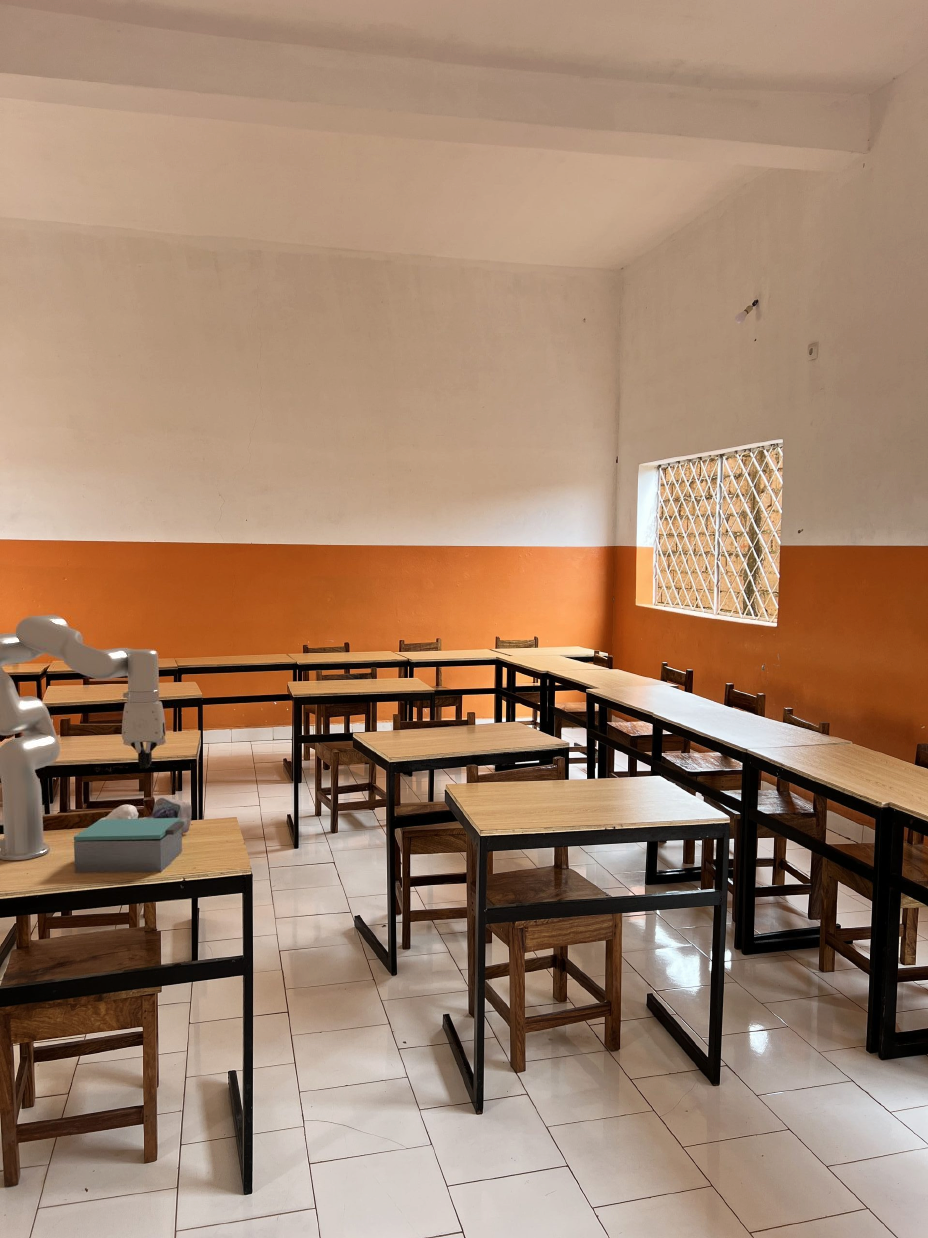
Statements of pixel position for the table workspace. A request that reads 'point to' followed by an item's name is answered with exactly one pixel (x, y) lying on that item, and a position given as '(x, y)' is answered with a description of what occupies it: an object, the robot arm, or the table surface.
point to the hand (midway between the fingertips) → (145, 767)
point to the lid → (130, 829)
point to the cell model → (172, 811)
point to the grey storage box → (127, 854)
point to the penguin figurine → (123, 813)
